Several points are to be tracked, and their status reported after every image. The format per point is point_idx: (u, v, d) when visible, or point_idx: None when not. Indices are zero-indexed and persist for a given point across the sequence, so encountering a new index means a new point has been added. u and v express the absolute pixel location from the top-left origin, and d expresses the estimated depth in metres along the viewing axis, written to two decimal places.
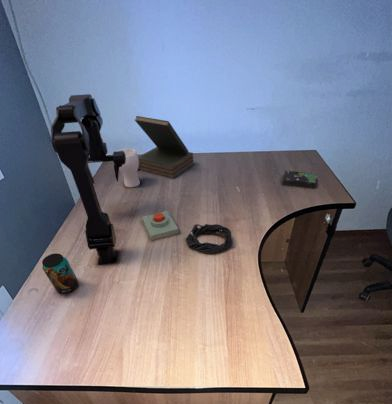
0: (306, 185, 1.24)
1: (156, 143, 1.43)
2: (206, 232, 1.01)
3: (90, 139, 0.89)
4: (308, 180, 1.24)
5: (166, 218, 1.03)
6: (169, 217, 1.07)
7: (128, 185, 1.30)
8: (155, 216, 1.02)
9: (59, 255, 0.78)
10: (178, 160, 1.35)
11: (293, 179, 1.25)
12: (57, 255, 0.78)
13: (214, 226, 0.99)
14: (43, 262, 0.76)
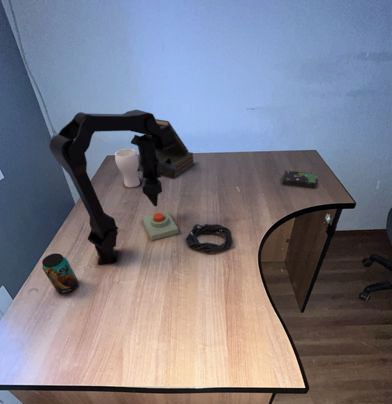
0: (306, 185, 1.24)
1: None
2: (206, 232, 1.01)
3: (140, 156, 0.85)
4: (308, 180, 1.24)
5: (166, 218, 1.03)
6: (169, 217, 1.07)
7: (128, 185, 1.30)
8: (155, 216, 1.02)
9: (59, 255, 0.78)
10: (178, 160, 1.35)
11: (293, 179, 1.25)
12: (57, 255, 0.78)
13: (214, 226, 0.99)
14: (43, 262, 0.76)
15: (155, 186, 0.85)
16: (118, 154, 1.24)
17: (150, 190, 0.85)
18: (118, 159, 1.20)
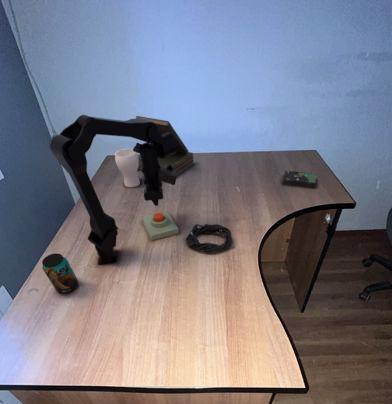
0: (306, 185, 1.24)
1: None
2: (206, 232, 1.01)
3: (142, 163, 0.86)
4: (308, 180, 1.24)
5: (166, 218, 1.03)
6: (169, 217, 1.07)
7: (128, 185, 1.30)
8: (155, 216, 1.02)
9: (59, 255, 0.78)
10: (178, 160, 1.35)
11: (293, 179, 1.25)
12: (57, 255, 0.78)
13: (214, 226, 0.99)
14: (43, 262, 0.76)
15: (156, 193, 0.86)
16: (118, 154, 1.24)
17: (151, 197, 0.87)
18: (118, 159, 1.20)
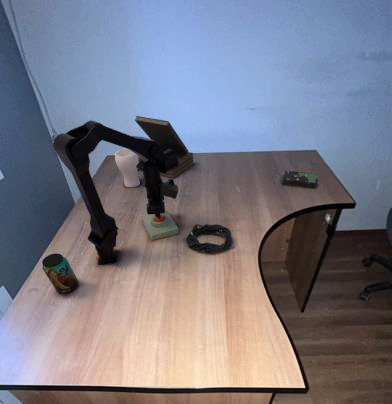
0: (306, 185, 1.24)
1: None
2: (206, 232, 1.01)
3: (145, 179, 0.90)
4: (308, 180, 1.24)
5: (166, 218, 1.03)
6: (169, 217, 1.07)
7: (128, 185, 1.30)
8: (155, 218, 1.03)
9: (59, 255, 0.78)
10: (178, 160, 1.35)
11: (293, 179, 1.25)
12: (57, 255, 0.78)
13: (214, 226, 0.99)
14: (43, 262, 0.76)
15: (159, 207, 0.90)
16: (118, 154, 1.24)
17: (154, 211, 0.90)
18: (118, 159, 1.20)
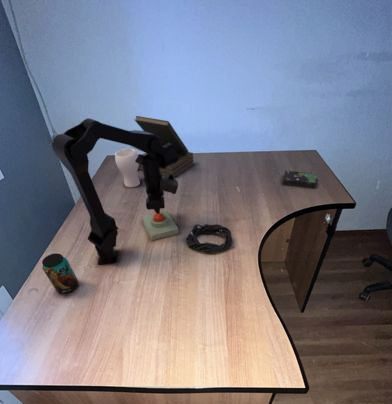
0: (306, 185, 1.24)
1: None
2: (206, 232, 1.01)
3: (144, 173, 0.89)
4: (308, 180, 1.24)
5: (166, 218, 1.03)
6: (169, 217, 1.07)
7: (128, 185, 1.30)
8: (155, 216, 1.02)
9: (59, 255, 0.78)
10: (178, 160, 1.35)
11: (293, 179, 1.25)
12: (57, 255, 0.78)
13: (214, 226, 0.99)
14: (43, 262, 0.76)
15: (158, 202, 0.89)
16: (118, 154, 1.24)
17: (153, 206, 0.89)
18: (118, 159, 1.20)
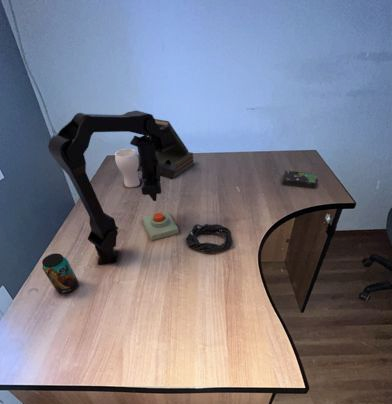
0: (306, 185, 1.24)
1: None
2: (206, 232, 1.01)
3: (140, 157, 0.84)
4: (308, 180, 1.24)
5: (166, 218, 1.03)
6: (169, 217, 1.07)
7: (128, 185, 1.30)
8: (155, 216, 1.02)
9: (59, 255, 0.78)
10: (178, 160, 1.35)
11: (293, 179, 1.25)
12: (57, 255, 0.78)
13: (214, 226, 0.99)
14: (43, 262, 0.76)
15: (154, 187, 0.84)
16: (118, 154, 1.24)
17: (149, 191, 0.85)
18: (118, 159, 1.20)
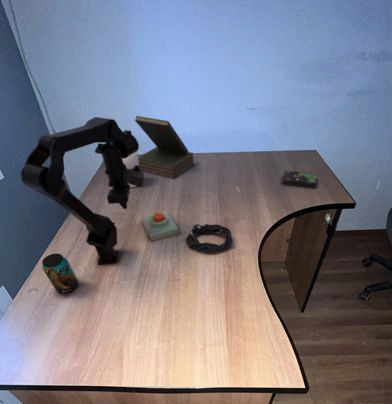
0: (306, 185, 1.24)
1: (156, 143, 1.43)
2: (206, 232, 1.01)
3: (107, 165, 0.81)
4: (308, 180, 1.24)
5: (166, 218, 1.03)
6: (169, 217, 1.07)
7: None
8: (155, 216, 1.02)
9: (59, 255, 0.78)
10: (178, 160, 1.35)
11: (293, 179, 1.25)
12: (57, 255, 0.78)
13: (214, 226, 0.99)
14: (43, 262, 0.76)
15: (120, 196, 0.81)
16: None
17: (115, 200, 0.82)
18: None
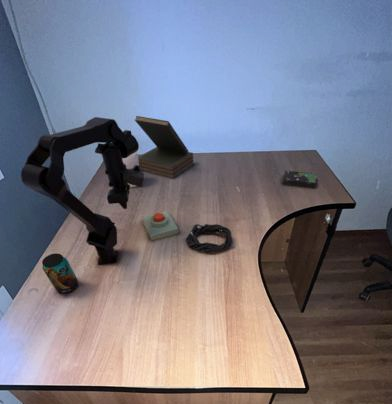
0: (306, 185, 1.24)
1: (156, 143, 1.43)
2: (206, 232, 1.01)
3: (107, 165, 0.81)
4: (308, 180, 1.24)
5: (166, 218, 1.03)
6: (169, 217, 1.07)
7: None
8: (155, 216, 1.02)
9: (59, 255, 0.78)
10: (178, 160, 1.35)
11: (293, 179, 1.25)
12: (57, 255, 0.78)
13: (214, 226, 0.99)
14: (43, 262, 0.76)
15: (120, 196, 0.81)
16: None
17: (115, 200, 0.82)
18: None
